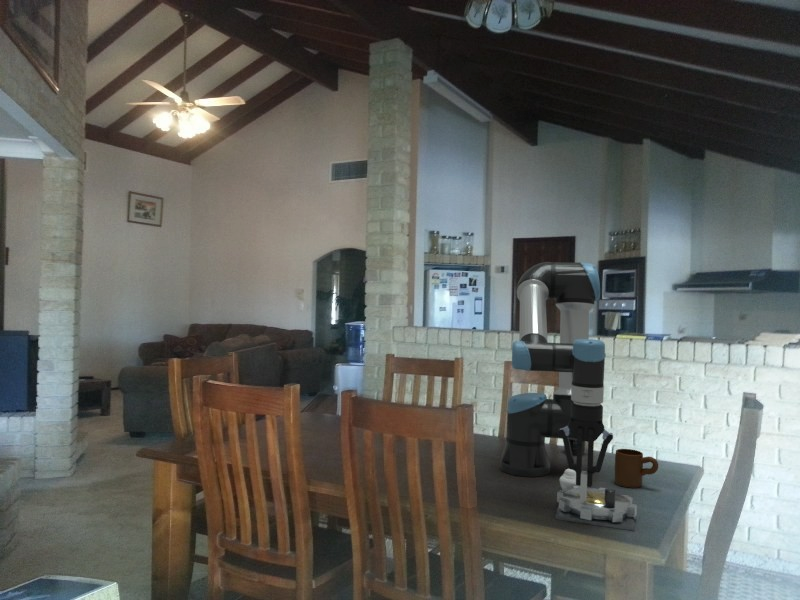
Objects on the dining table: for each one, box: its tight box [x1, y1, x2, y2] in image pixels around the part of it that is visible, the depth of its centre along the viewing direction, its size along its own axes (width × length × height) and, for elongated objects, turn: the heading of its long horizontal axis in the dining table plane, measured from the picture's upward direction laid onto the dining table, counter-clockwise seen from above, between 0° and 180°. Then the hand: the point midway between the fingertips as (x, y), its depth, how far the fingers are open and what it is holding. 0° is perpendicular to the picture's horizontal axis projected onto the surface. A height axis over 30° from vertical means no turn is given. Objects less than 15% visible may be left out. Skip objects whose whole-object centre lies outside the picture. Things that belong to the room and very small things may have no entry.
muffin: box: [559, 468, 579, 491], centre depth 168 cm, size 6×6×7 cm
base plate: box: [554, 502, 636, 532], centre depth 154 cm, size 18×18×1 cm
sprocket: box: [556, 486, 638, 522], centre depth 154 cm, size 19×19×6 cm
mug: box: [614, 448, 659, 489], centre depth 176 cm, size 12×8×9 cm, turn 50°
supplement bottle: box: [563, 439, 586, 457], centre depth 210 cm, size 7×7×12 cm
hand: (583, 498), depth 150 cm, fingers closed
